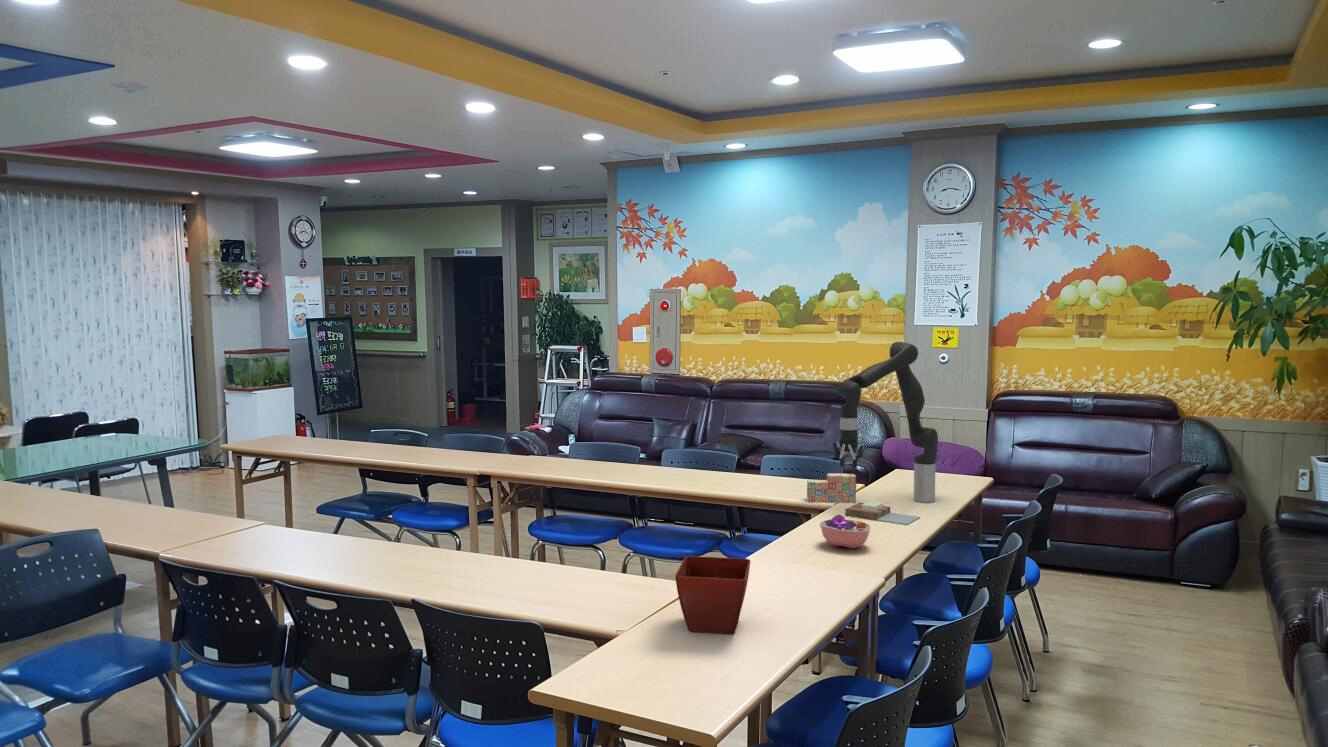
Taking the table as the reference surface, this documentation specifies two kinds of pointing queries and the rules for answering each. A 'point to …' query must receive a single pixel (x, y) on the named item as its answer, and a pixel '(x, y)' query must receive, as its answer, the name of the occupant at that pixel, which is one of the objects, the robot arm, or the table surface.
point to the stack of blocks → (833, 489)
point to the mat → (898, 518)
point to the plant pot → (712, 592)
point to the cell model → (845, 532)
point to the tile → (872, 506)
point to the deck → (866, 512)
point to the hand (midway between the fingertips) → (848, 467)
